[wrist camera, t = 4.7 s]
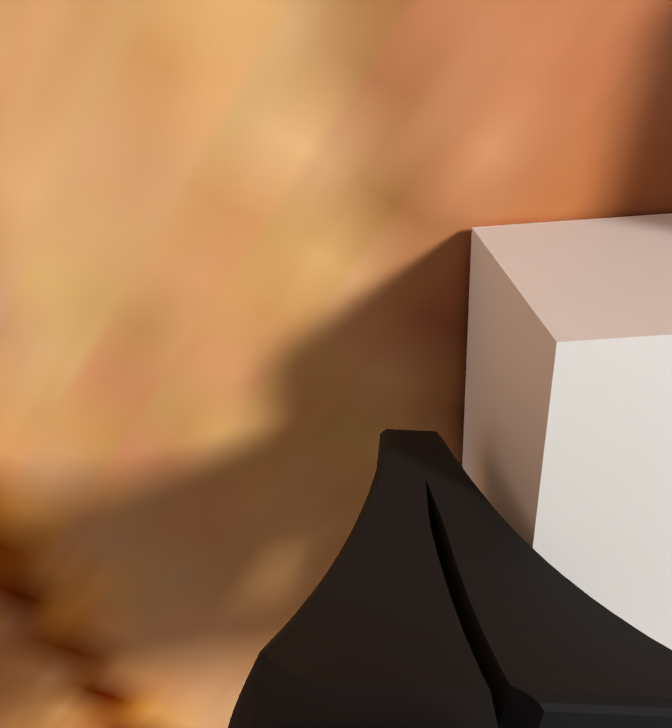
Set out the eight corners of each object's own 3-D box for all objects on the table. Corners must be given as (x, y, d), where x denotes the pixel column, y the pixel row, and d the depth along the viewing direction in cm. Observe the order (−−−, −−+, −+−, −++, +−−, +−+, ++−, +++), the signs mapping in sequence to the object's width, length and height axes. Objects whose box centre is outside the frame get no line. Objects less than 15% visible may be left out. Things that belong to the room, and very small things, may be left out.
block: (647, 547, 16) (766, 738, 12) (458, 560, 17) (508, 754, 12) (728, 208, 12) (959, 314, 8) (471, 227, 12) (556, 342, 8)
